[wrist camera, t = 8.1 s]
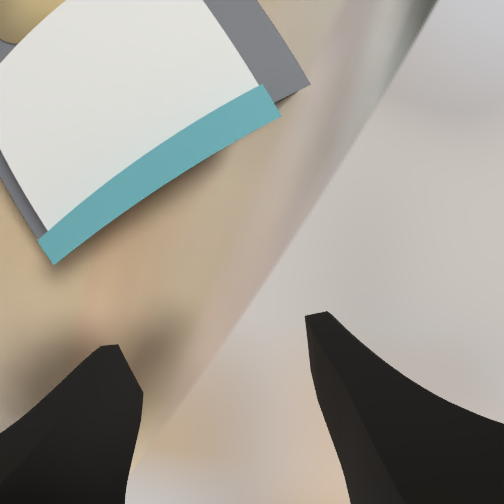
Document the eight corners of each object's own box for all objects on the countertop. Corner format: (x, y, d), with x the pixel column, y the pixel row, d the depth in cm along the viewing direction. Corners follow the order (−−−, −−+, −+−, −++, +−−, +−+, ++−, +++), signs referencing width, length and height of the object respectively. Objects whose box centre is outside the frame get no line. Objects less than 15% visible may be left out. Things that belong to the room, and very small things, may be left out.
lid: (76, 245, 13) (53, 265, 11) (-10, 93, 10) (-39, 94, 8) (273, 117, 11) (281, 116, 9) (162, -47, 8) (151, -71, 6)
